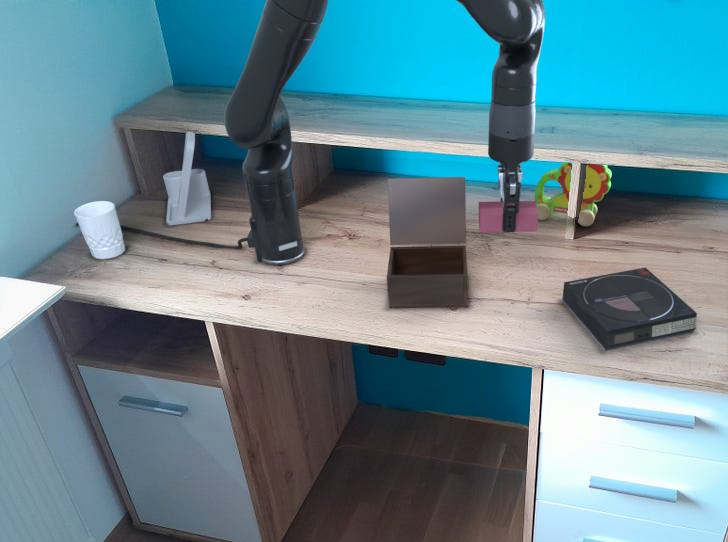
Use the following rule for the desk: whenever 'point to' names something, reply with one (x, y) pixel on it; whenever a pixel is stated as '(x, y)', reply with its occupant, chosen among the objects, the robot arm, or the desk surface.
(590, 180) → the toy lion
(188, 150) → the white dustpan scoop
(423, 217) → the box lid
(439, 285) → the walnut box
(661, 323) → the portable cd player
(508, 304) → the desk surface
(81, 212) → the white cup
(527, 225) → the stepped pink block
